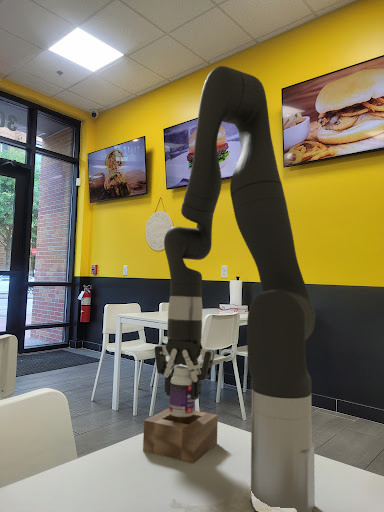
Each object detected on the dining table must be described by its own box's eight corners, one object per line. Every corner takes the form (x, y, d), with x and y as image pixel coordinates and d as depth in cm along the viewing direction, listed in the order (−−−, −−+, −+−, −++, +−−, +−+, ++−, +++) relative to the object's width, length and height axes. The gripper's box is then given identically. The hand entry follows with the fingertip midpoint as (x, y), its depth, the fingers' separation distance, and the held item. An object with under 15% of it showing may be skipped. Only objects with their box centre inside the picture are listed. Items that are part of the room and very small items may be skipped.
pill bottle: (191, 419, 76) (193, 370, 77) (166, 416, 77) (168, 368, 78) (196, 411, 82) (197, 365, 83) (172, 408, 83) (174, 364, 84)
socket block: (217, 443, 81) (217, 414, 82) (193, 463, 71) (194, 430, 72) (171, 433, 87) (172, 406, 87) (142, 450, 76) (144, 420, 77)
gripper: (221, 318, 82) (219, 398, 80) (165, 315, 88) (162, 388, 86) (208, 320, 75) (205, 406, 73) (148, 316, 82) (144, 395, 80)
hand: (182, 396), depth 80 cm, fingers closed on pill bottle, 5 cm apart
